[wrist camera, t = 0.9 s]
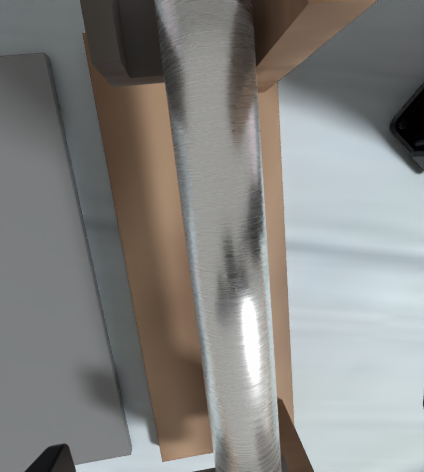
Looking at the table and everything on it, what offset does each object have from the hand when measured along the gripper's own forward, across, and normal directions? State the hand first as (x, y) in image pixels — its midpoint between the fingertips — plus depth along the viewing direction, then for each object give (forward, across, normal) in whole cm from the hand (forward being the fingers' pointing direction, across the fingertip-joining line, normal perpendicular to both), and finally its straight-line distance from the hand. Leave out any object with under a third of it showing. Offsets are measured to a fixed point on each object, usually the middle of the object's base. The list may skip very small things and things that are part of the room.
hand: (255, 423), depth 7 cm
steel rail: (+6, 0, 0) cm, 6 cm away
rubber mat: (+11, +11, 0) cm, 16 cm away
